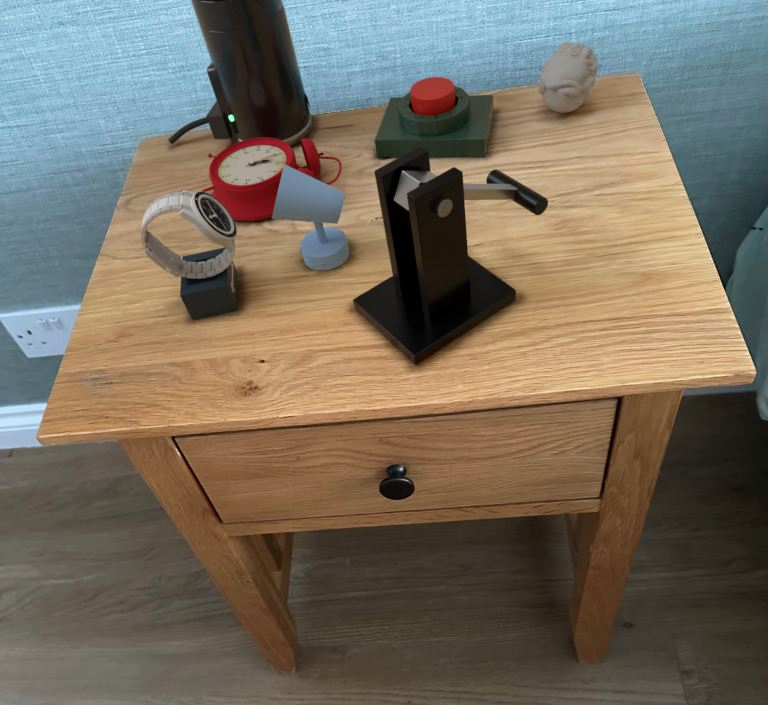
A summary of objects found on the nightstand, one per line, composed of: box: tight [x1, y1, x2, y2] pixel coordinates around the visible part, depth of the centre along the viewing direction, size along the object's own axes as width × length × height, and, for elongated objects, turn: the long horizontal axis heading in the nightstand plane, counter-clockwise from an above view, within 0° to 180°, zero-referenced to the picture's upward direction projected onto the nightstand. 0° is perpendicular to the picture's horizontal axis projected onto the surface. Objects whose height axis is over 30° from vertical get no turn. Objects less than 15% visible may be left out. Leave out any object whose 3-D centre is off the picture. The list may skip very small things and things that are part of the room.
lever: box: [394, 168, 549, 216], centre depth 55 cm, size 13×6×2 cm, turn 126°
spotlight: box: [271, 164, 350, 271], centre depth 64 cm, size 5×10×7 cm
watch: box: [140, 189, 239, 321], centre depth 62 cm, size 6×8×11 cm
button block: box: [374, 85, 495, 158], centre depth 77 cm, size 12×9×4 cm
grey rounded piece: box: [537, 41, 599, 114], centre depth 76 cm, size 6×7×7 cm
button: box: [409, 76, 456, 115], centre depth 76 cm, size 5×5×2 cm
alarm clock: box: [200, 137, 343, 222], centre depth 74 cm, size 10×6×15 cm
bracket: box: [352, 146, 517, 366], centre depth 56 cm, size 11×9×14 cm
